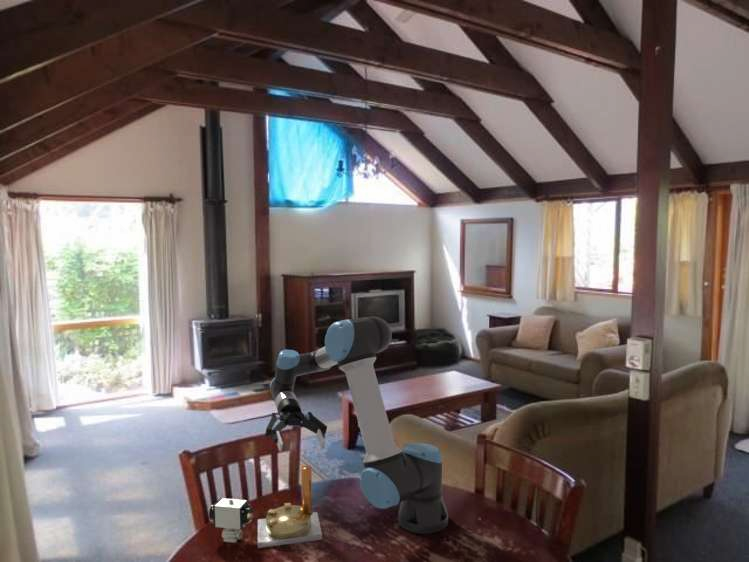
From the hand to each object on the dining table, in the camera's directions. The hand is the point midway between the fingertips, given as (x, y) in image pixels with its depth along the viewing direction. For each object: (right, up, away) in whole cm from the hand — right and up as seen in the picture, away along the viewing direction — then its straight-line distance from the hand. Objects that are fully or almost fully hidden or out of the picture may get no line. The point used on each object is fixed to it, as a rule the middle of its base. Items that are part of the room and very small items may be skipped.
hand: (302, 446), depth 161 cm
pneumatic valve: (-18, -23, -11) cm, 32 cm away
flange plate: (-3, -22, -8) cm, 24 cm away
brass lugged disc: (-3, -21, -8) cm, 22 cm away
